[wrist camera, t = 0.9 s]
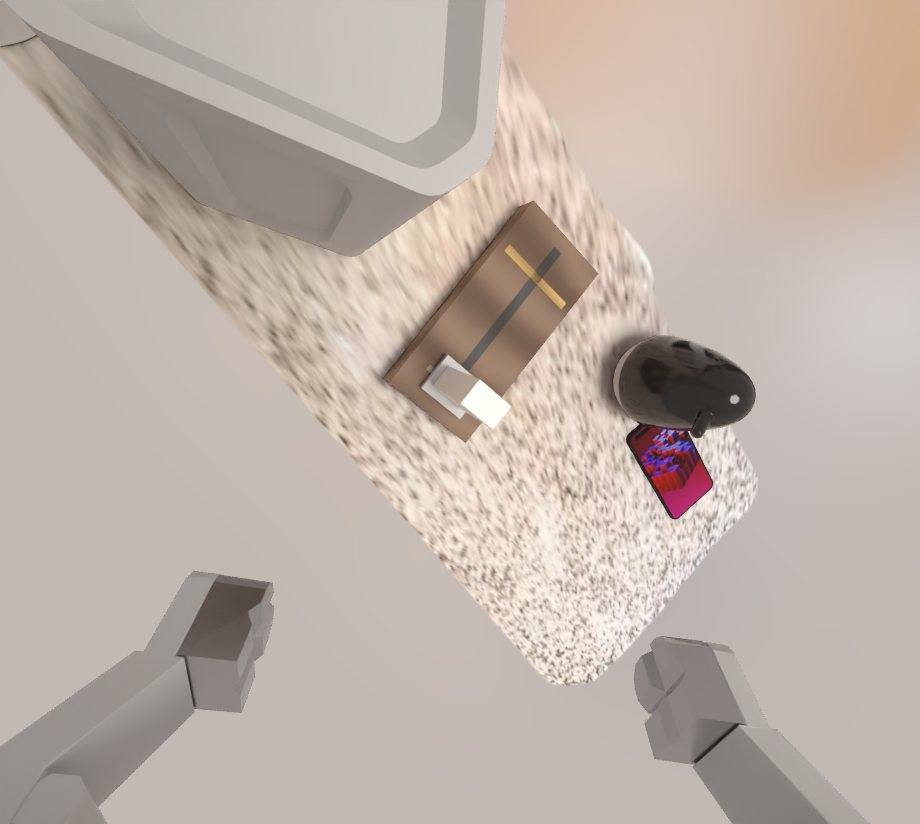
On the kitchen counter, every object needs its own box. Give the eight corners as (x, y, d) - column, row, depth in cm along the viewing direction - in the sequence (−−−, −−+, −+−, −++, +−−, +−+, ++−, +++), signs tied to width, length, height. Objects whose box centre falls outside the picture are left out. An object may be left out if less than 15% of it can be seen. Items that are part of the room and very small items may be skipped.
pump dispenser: (582, 371, 55) (681, 396, 41) (648, 315, 56) (766, 319, 42) (622, 436, 59) (726, 479, 45) (683, 382, 60) (802, 406, 46)
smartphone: (674, 522, 64) (626, 439, 58) (669, 519, 65) (621, 437, 59) (715, 485, 65) (672, 399, 59) (710, 482, 66) (667, 398, 60)
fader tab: (458, 417, 48) (492, 442, 40) (420, 387, 46) (448, 406, 38) (483, 385, 48) (523, 403, 40) (446, 354, 46) (479, 365, 38)
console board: (456, 435, 52) (465, 443, 49) (383, 378, 48) (388, 383, 45) (582, 275, 53) (598, 273, 50) (520, 206, 49) (533, 200, 46)
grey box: (279, 308, 44) (259, 320, 18) (156, 150, 39) (-126, -160, 13) (447, 194, 46) (643, 58, 20) (353, 30, 41) (457, -432, 15)
